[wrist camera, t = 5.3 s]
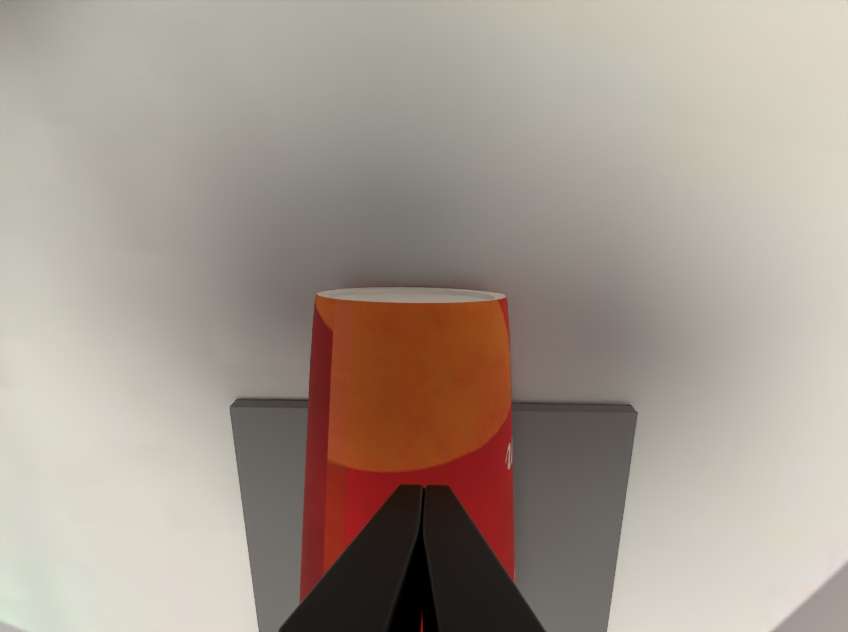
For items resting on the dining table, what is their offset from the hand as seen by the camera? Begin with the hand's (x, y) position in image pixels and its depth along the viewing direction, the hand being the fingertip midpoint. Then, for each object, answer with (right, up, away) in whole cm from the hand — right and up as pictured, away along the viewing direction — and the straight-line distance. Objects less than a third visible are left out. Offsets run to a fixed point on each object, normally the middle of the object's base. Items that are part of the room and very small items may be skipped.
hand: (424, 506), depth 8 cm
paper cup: (0, +4, +6) cm, 7 cm away
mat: (0, -6, +12) cm, 13 cm away
